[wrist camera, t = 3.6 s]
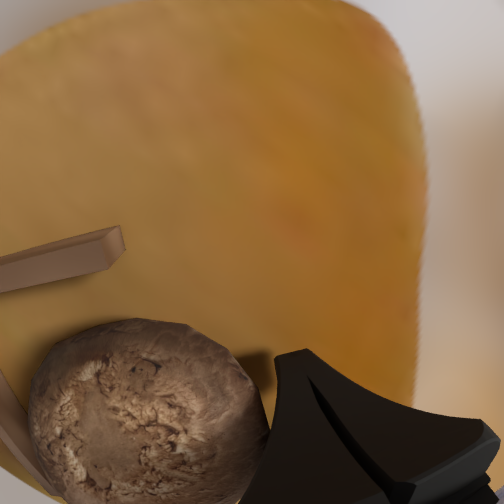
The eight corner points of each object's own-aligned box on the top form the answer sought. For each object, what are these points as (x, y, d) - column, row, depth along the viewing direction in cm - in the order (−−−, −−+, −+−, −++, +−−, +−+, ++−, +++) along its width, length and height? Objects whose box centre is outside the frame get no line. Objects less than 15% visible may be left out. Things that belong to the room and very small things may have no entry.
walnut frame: (207, 467, 13) (209, 498, 11) (59, 469, 12) (50, 495, 10) (119, 225, 9) (100, 240, 7) (-51, 273, 9) (-79, 290, 7)
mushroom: (223, 524, 10) (196, 606, 4) (70, 443, 11) (-21, 463, 5) (295, 371, 12) (322, 374, 6) (128, 298, 14) (47, 249, 8)
